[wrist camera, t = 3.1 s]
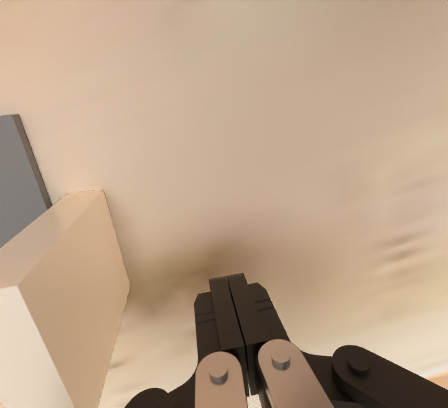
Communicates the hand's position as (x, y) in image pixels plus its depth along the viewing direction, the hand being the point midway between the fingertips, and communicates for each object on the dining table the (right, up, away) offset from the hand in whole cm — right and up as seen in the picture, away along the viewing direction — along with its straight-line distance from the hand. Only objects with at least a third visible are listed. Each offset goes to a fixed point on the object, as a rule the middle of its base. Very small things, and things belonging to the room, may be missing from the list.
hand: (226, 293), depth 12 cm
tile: (-8, +1, +5) cm, 10 cm away
